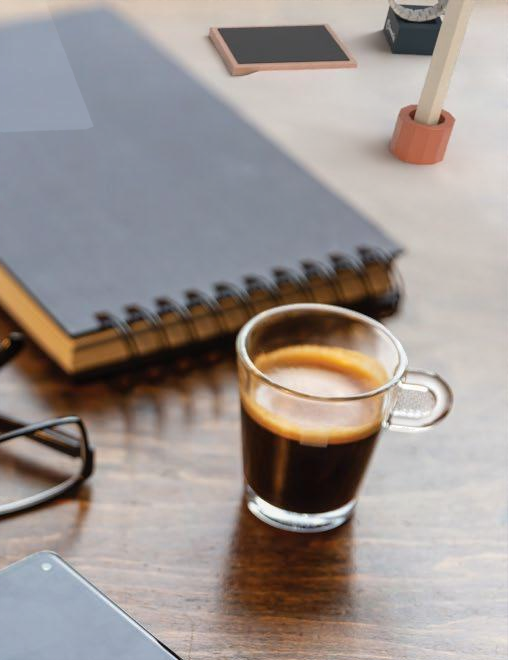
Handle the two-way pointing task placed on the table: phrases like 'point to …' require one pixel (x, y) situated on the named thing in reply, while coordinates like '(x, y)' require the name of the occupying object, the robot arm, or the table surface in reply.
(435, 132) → the pen holder
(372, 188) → the table surface
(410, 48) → the watch
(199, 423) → the table surface
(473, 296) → the table surface
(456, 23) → the stylus
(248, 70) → the tablet
